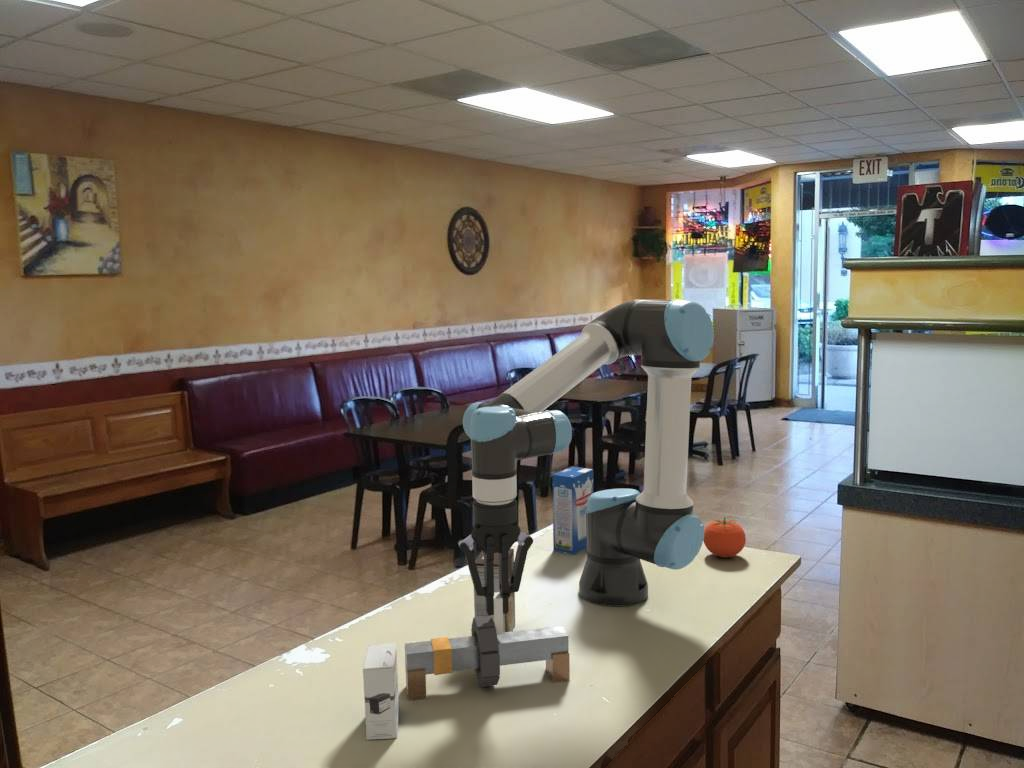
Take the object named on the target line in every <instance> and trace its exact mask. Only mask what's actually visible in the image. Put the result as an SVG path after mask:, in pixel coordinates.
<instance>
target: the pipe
mask: <svg viewBox="0 0 1024 768" xmlns="http://www.w3.org/2000/svg"><path fill="white" fill-rule="evenodd" d="M497 639H498V645H499V654H500V667H501V666H509V665H517V664H525V663H533V662H542V661H545V670H546V673H548V676H549V678H550V679H551V682H552V683H558V682H559V683H560V682H567V681H568V682H569V681H570V680H571V679H570V676H571V675H570V669H571V667H570V652H569V647H570V646H569V645H570V643H569V634H568V632H567V631H566V629H565V627H564V626H563V625H560V626H559V625H558V626H551V627H549V626H548V627H541V628H533V629H525V630H524V629H522V630H516V631H515V630H514V631H513V630H512V632H504V633H503V634H502V635H497ZM404 661H405V662H404V663H405V686H406V693H407V698H408V699H407V700H408V701H416V700H424V699H427V675H433V674H434V676H439V675H449V674H453V672H457V671H458V672H459V671H466V670H475V669H476V668H480V651H479V644H478V637H477V636H472V635H470V636H469V635H468V636H462V637H461V636H460V637H452V638H449V637H448V636H446V637H437V638H430V640H425V641H415V642H406V643H404Z"/></svg>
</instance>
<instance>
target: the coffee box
mask: <svg viewBox="0 0 1024 768" xmlns="http://www.w3.org/2000/svg"><path fill="white" fill-rule="evenodd" d="M514 560H515V549H514V548H510V549H509V558H508V572H509V583H510V578H511V574H512V569H513V565H514ZM475 563H476V566H477V570H478V573H479V577H480V581H481V584H482V586H485V585H484V554H483V551H482V550H481V552H480V553H479V554H478V556H477V557H476V559H475ZM493 563H494V593H496V592H500V590H499V555H498V553H494V560H493ZM515 595H516V592H513V593H511V594H510V597H509V598H508V602H509V611H508V613H507V614H503V633H504V632H513V629H514V628H515V626H516V597H515ZM473 600H474V601H473V602H474V603H473V605H474V608H473V609H474V617H482V616H488V614H487V612H486V606H485V596H478V595H477V593H476V591H475V589H474V588H473ZM489 616H491V617H492V615H489Z"/></svg>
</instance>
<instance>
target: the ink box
mask: <svg viewBox="0 0 1024 768" xmlns="http://www.w3.org/2000/svg"><path fill="white" fill-rule="evenodd" d="M397 646H398V645H397V643H394V642H393V643H381V644H380V643H379V644H368V645H367V647H366V653H365V656H364V661H363V666H362V674H363V675H362V676H363V677H362V679H363V693H364V694H363V695H364V697H363V698H364V712H365V713H364V715H365V732H366V733H365V734H366V735H365V736H366V738H365V739H366V740H367V741H369V740H386V739H387V740H388V739H389V740H390V739H397V738H398V730H399V716H400V715H399V714H400V702H399V699H400V698H399V675H398V674H399V673H398V652H397V651H398V650H397Z"/></svg>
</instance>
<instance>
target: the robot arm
mask: <svg viewBox="0 0 1024 768" xmlns="http://www.w3.org/2000/svg"><path fill="white" fill-rule="evenodd" d="M714 330H715V329H714V324H713V320H712V318H711V316H710V314H709V313H708V312H707V311H706V309H705V307H703V305H701V304H700V303H698V302H695V301H693V300H685V299H684V300H683V299H646V298H645V299H643V298H641V299H640V298H639V299H632V300H628V301H624V302H623V303H620V304H618V305H616V306H613V307H612V308H610V309H608V310H607V311H605V312H603V313H601V314H600V315H599V316H597V317H596V318H594V319H592V320H591V321H589V322H588V323H587V324H586V325H584V326H583V329H582V330H581V334H580V335H579V336H578V337H577V338H575V339H574V340H572V341H571V342H569V343H568V344H567V345H565V346H564V347H563V348H562V349H560V350H559V351H558V352H556V353H555V354H553V355H552V356H551V357H550V358H548V359H547V360H545V361H544V362H543V363H542V364H540V365H539V366H537V367H536V368H534V369H533V370H532V371H531V372H529V373H528V374H526V375H525V376H524V377H522V378H521V379H520V380H518V381H517V382H516V383H514V384H512V386H510V387H509V388H508V389H506V390H505V391H503V392H502V393H500V394H499V395H498V396H497V397H495V398H494V399H492V400H491V401H489V402H488V401H477V402H473V403H472V404H470V405H469V406H468V407H467V408H466V410H465V412H464V414H463V417H462V427H463V430H464V432H465V434H466V436H467V437H469V438H470V452H471V453H470V454H471V456H470V457H471V478H472V479H471V481H472V482H471V483H472V484H471V485H472V487H471V488H472V489H471V490H472V491H471V492H472V498H473V501H472V527H471V529H470V533H469V535H468V536H467V537H466V538H464V539H462V538H460V539H458V541H457V545H458V547H459V549H460V551H461V552H462V554H464V557H465V561H466V563H467V568H468V570H469V574H470V577H471V581H472V584H473V590H474V589H475V591H476V593H477V595H478V596H485V606H486V612H487V614H488V616H489V615H492V619H493V621H494V623H495V628H496V632H497V635H502V634H503V614H507V613H508V611H509V602H508V598H509V597H510V594H511V593H513V592H515V593H517V592H518V591H519V590H520V586H521V582H522V578H523V573H524V568H525V565H526V560H527V556H528V553H529V552H528V551H529V549H530V548H531V546H532V545H533V543H534V539H533V537H532V536H531V535H530V533H525V532H523V531H521V528H520V526H519V524H518V500H516V497H517V496H518V492H517V491H518V489H517V488H518V487H517V482H518V481H517V474H518V472H517V468H518V467H517V466H518V465H517V463H518V461H521V460H526V459H532V458H535V457H536V458H537V457H540V456H542V457H543V456H546V455H553V454H556V453H559V452H562V451H564V450H566V449H567V448H568V446H570V444H571V441H572V439H573V438H572V437H573V435H572V434H573V432H572V431H573V428H572V424H571V422H570V419H569V418H568V416H567V415H566V414H565V413H564V412H562V411H561V410H557V409H552V410H548V409H547V408H549V407H550V406H551V405H553V404H554V403H555V402H557V401H558V400H559V399H561V398H562V397H563V396H564V395H565V394H567V393H568V392H570V390H572V389H573V388H575V387H576V386H577V385H579V384H580V383H581V382H582V381H583V380H585V379H586V378H587V377H589V376H590V375H592V374H593V373H594V372H595V371H596V370H597V369H599V368H600V367H602V366H603V365H612V364H613V363H615V362H616V361H617V360H619V359H621V358H623V357H627V356H628V357H629V356H641V357H640V368H642V370H643V371H644V372H645V373H646V374H647V398H646V399H647V400H646V418H645V419H646V421H645V422H646V423H645V444H644V445H645V448H644V468H643V469H644V471H643V472H644V473H643V491H642V492H640V491H639V490H637V489H634V488H623V487H621V488H611V489H609V488H608V489H603V490H599V491H598V490H597V491H596V492H593V494H591V495H590V496H589V497H588V500H587V511H586V534H587V548H586V561H585V564H584V566H583V569H582V571H581V572H582V573H581V576H580V578H579V582H578V594H579V596H580V597H582V599H584V600H585V601H588V602H590V603H592V604H595V605H599V606H606V607H628V606H632V605H637V604H639V603H641V602H643V601H644V600H646V599H647V598H648V595H649V583H648V580H647V577H646V575H645V571H644V568H643V565H642V562H641V560H642V561H645V562H648V563H651V564H653V565H656V566H657V567H660V568H667V569H671V570H681V569H683V568H686V567H687V566H689V565H690V564H691V563H692V562H693V561H694V560H695V559H696V556H698V554H699V553H700V550H701V548H702V547H703V544H704V541H703V539H704V530H705V526H704V523H703V522H702V519H700V517H699V516H698V515H696V514H694V501H693V499H692V498H691V497H690V496H689V495H688V493H687V486H688V485H687V482H688V479H687V477H688V464H689V462H688V459H689V441H690V438H689V437H690V420H691V419H690V416H691V414H690V413H691V395H692V377H693V376H694V375H695V374H696V373H697V372H698V371H699V370H700V367H701V361H703V360H704V359H706V358H707V357H708V356H709V354H710V353H711V350H712V349H713V345H714V342H715V341H714V339H715V331H714ZM516 540H517V541H516ZM516 542H517V548H516V552H515V555H514V565H513V569H512V574H511V578H510V583H509V572H508V558H509V549H512V547H513V546H514V544H515V543H516ZM474 543H476V545H477V546H478V547H479V549H480V550H481V551H483V554H484V585H485V586H482V584H481V581H480V577H479V573H478V570H477V566H476V563H475V560H476V559H475V556H474V554H473V552H472V551H473V550H474V548H475V546H474ZM494 553H498V555H499V590H500V592H496V593H494V563H493V560H494Z"/></svg>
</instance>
